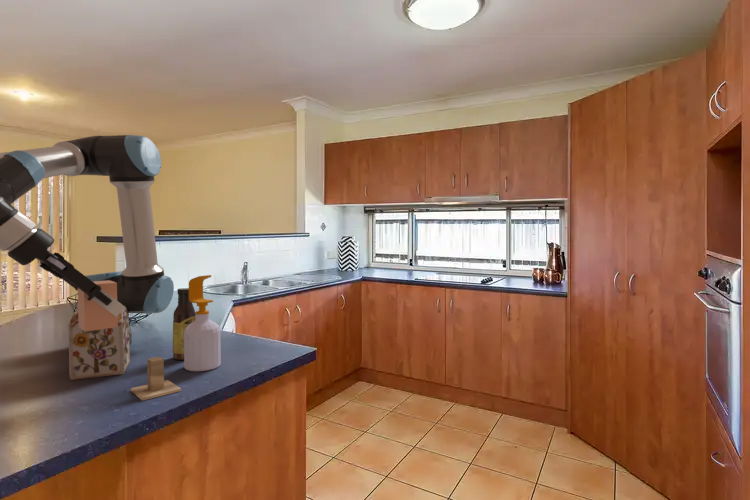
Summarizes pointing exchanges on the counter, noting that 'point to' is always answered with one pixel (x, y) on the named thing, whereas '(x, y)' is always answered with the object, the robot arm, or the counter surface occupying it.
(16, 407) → the counter surface
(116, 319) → the peach block
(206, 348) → the soap bottle
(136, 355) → the counter surface
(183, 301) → the sauce bottle
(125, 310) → the decorative jar
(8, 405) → the counter surface
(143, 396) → the post
